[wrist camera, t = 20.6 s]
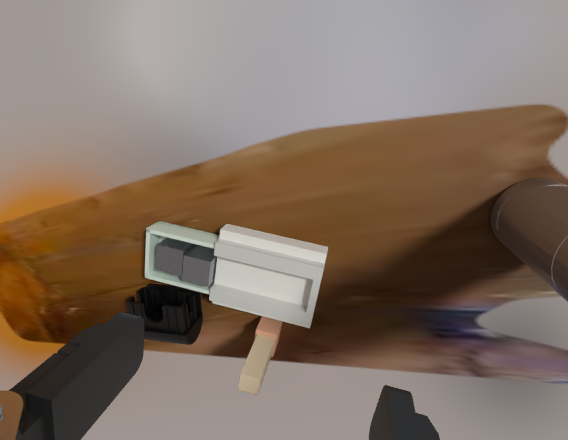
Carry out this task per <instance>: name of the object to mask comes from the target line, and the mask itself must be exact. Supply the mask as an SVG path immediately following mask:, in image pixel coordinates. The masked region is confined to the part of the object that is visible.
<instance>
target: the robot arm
mask: <svg viewBox="0 0 568 440" xmlns="http://www.w3.org/2000/svg"><path fill="white" fill-rule="evenodd" d="M490 223H491V228H492V231H493V233H494V235H495V236H496V237H497V239H498V240H499V241H500V242H501V243H502V244H503V245H505V246H506V247H507V248H508V249H509V250H510V251H511V252H512V253H513V254H514V255H515V256H517V257H518V258H519V259H520V260H521V261H522V262H523V263H525V264H526V265H527V266H528V267H529V268H530V269H531V270H532V271H534V272H535V273H536V274H537V275H538V276H539V277H540V278H541V279H543V280H544V281H545V282H546V283H547V284H548V285H549V286H550V287H552V288H553V289H554V290H555V291H556V292H557V293H558V294H559V295H561V296H562V297H563V298H564V299H565V300H566V301H567V302H568V185H565V184H562V183H560V182H557V181H554V180H549V179H544V178H534V179H529V180H524V181H522V182H519V183H516V184H515V185H513V186H511V187H509V188H508V189H507V190H506V191H504V192H503V193H502V194H501V195H500V196H499V198H498V199H497V200H496V202H495V204H494V206H493V208H492V211H491V215H490ZM143 350H144V319H143V318H142V317H139V316H135V315H132V314H128V313H124V312H119V313H117V314H116V315H115V316H114V317H113V318H111V319H110V320H109V321H108V322H107V323H106V324H102V323H98V324H96V325H94V326H92V327H90V328H87V329H85V330H83V331H82V332H80V333H79V334H78V335H77V336H75V337H74V338H73V339H72V340H71V341H69V343H68V344H66V345H64V346H63V347H62V348H61V349H59V350H58V352H57V353H55V354H53V355H52V356H51V357H50V358H48V359H47V360H46V361H45V362H44V363H42V364H41V365H40V366H39V367H37V368H36V369H35V370H34V371H32V372H31V373H30V374H29V375H28V376H27V377H25V378H24V379H23V380H21V381H20V382H19V383H18V384H17V385H15V386H14V387H13V388H11V389H10V390H9V391H0V440H81V438H82V437H83V436H84V435H85V434H86V432H87V431H88V430H89V429H90V428H91V426H92V425H93V424H94V423H95V422H96V420H97V419H98V418H99V417H100V416H101V414H102V413H103V412H104V411H105V410H106V408H107V407H108V406H109V405H110V404H111V402H112V401H113V400H114V399H115V397H116V396H117V395H118V394H119V393H120V391H121V390H122V389H123V388H124V387H125V385H126V384H127V383H128V382H129V380H130V379H131V378H132V377H133V376H134V375H135V373H136V372H137V370H138V368H139V366H140V364H141V362H142V358H143ZM369 440H440V439H439V435H438V433H437V431H436V429H435V428H434V426H433V425H432V423H431V422H430V420H429V418H428V417H427V416H425V415H422V414H418V413H415V409H414V403H413V399H412V395H411V393H410V392H408V391H405V390H401V389H398V388H394V387H390V386H387V385H385V386H384V387H383V389H382V392H381V395H380V398H379V401H378V404H377V407H376V410H375V413H374V416H373V419H372V422H371V426H370V432H369Z"/></svg>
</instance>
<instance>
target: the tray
mask: <svg viewBox="0 0 568 440" xmlns="http://www.w3.org/2000/svg"><path fill="white" fill-rule="evenodd" d="M167 237H168V238H172V239H176V240H180V241H185V242H189V243H193V244H196V245H200V246H204V247H208V248H212V249H215V242H216V241H217V240H218V239H219V237H220V235H217V234H213V233H209V232H204V231H200V230H196V229H192V228H187V227H183V226H179V225H175V224H170V223H166V222H162V221H158V222H157V223H155V224H153V225H151V226H150V227H148V228H146V251H145V278H147V279H151V280H155V281H159V282H163V283H167V284H171V285H175V286H178V287H182V288H186V289H190V290H194V291H198V292H202V293H205V294H209V295H210V288H211V287H212V286H213V284H214V282H215V279H214V281H213V282H212V283H211V284H210V286H209V287H205V286H201V285H198V284H194V283H190V282H186V281H182V277H181V276H177V275H173V274H170V273H166V272H162V271H158V270H156V250H157V244H158V243H160V242H161V241H163V240H164V239H166V238H167Z"/></svg>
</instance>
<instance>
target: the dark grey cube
mask: <svg viewBox="0 0 568 440" xmlns="http://www.w3.org/2000/svg"><path fill="white" fill-rule="evenodd" d="M195 245H196V244H193V243H189V242H185V241H180V240H176V239H172V238H168V237H167V238H166V239H164V240H163V241H161V242H160V243H158V244H157V250H156V270H158V271H162V272H166V273H170V274H173V275H177V276H181V277H182V271H183V259H184V255H185V254H186V253H187V252H188V251H189V250H190V249H192V248H193V247H194V246H195Z"/></svg>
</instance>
